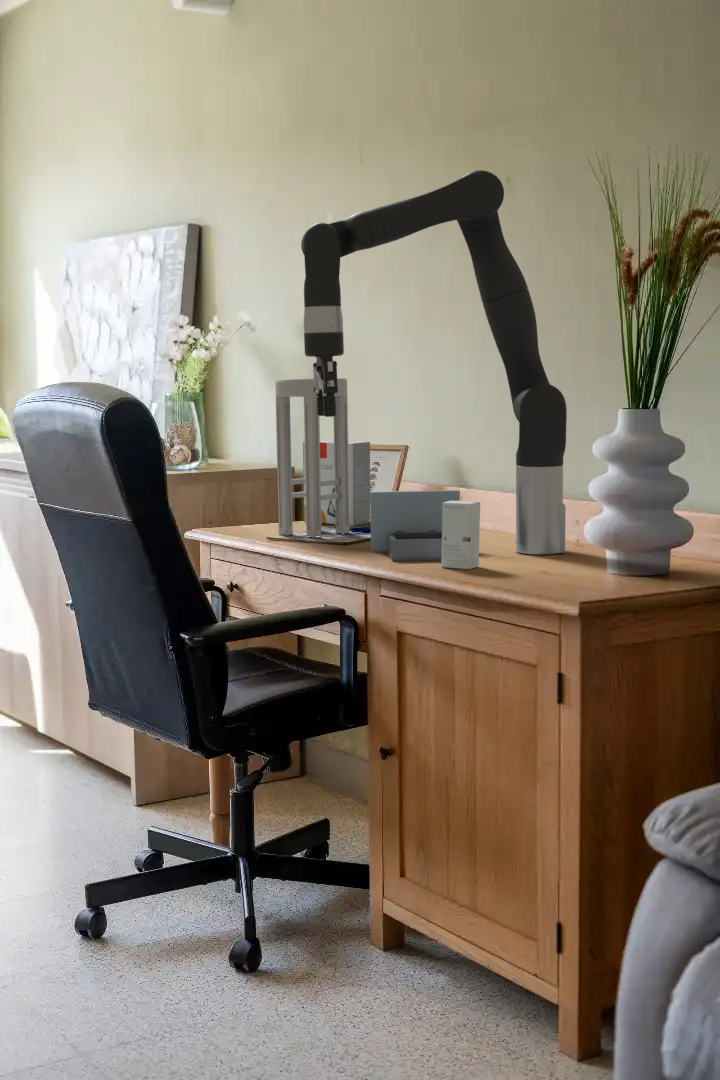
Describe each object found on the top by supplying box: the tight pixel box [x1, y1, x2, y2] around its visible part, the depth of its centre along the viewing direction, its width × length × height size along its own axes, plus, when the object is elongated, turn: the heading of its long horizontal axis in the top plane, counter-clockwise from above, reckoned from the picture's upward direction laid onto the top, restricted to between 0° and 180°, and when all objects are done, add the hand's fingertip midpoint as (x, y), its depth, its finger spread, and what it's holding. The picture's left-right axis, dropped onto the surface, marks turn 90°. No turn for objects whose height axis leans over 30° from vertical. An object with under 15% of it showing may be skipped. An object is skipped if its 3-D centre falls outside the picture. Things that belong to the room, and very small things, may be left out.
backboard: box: [370, 489, 461, 553], centre depth 263 cm, size 18×2×12 cm, turn 93°
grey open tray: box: [386, 530, 442, 562], centre depth 256 cm, size 12×14×4 cm
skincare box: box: [440, 500, 481, 570], centre depth 239 cm, size 6×4×12 cm
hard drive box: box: [302, 439, 371, 527], centre depth 316 cm, size 16×8×20 cm, turn 53°
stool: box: [274, 377, 351, 537], centre depth 293 cm, size 16×16×35 cm
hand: (326, 416), depth 251 cm, fingers open, 8 cm apart
